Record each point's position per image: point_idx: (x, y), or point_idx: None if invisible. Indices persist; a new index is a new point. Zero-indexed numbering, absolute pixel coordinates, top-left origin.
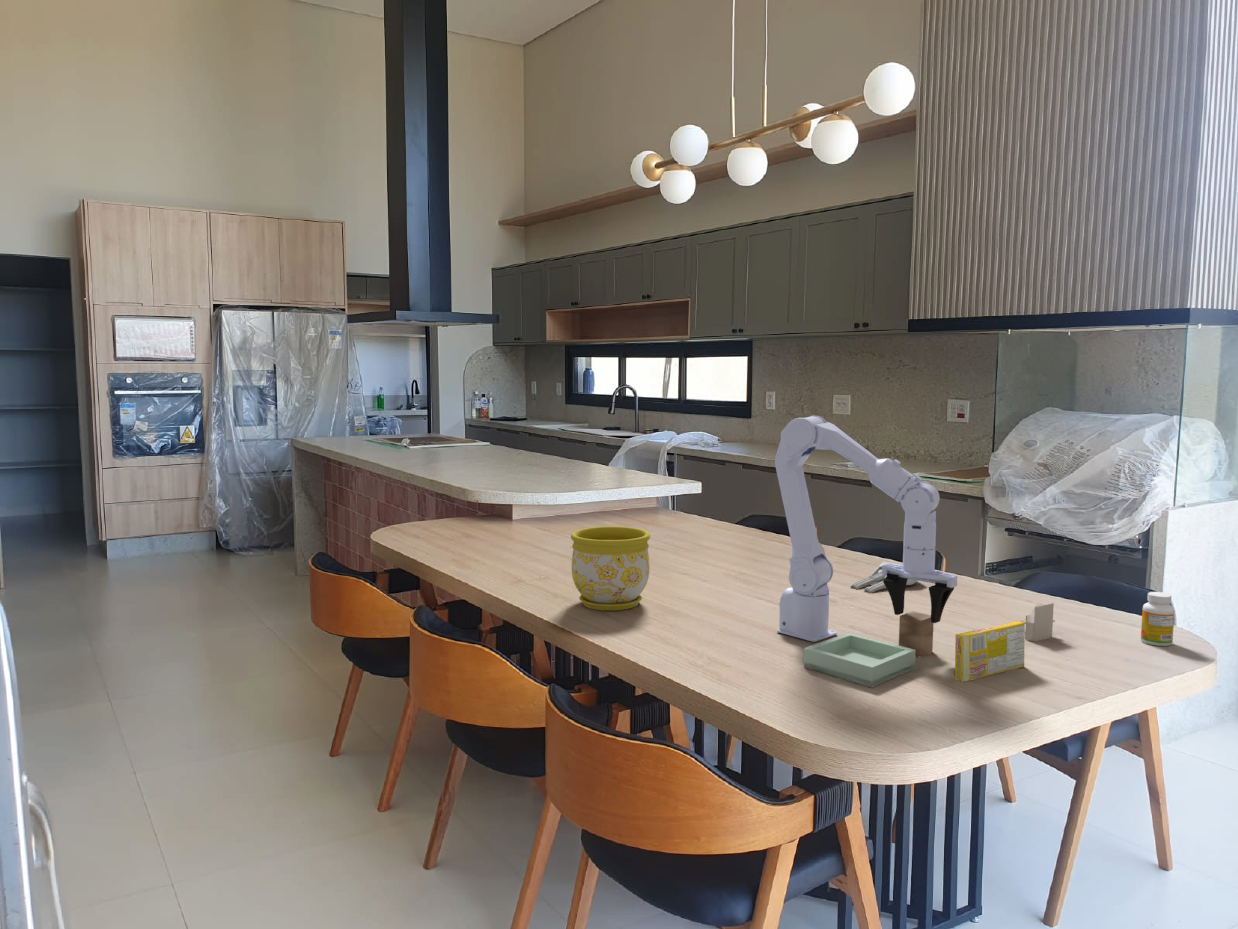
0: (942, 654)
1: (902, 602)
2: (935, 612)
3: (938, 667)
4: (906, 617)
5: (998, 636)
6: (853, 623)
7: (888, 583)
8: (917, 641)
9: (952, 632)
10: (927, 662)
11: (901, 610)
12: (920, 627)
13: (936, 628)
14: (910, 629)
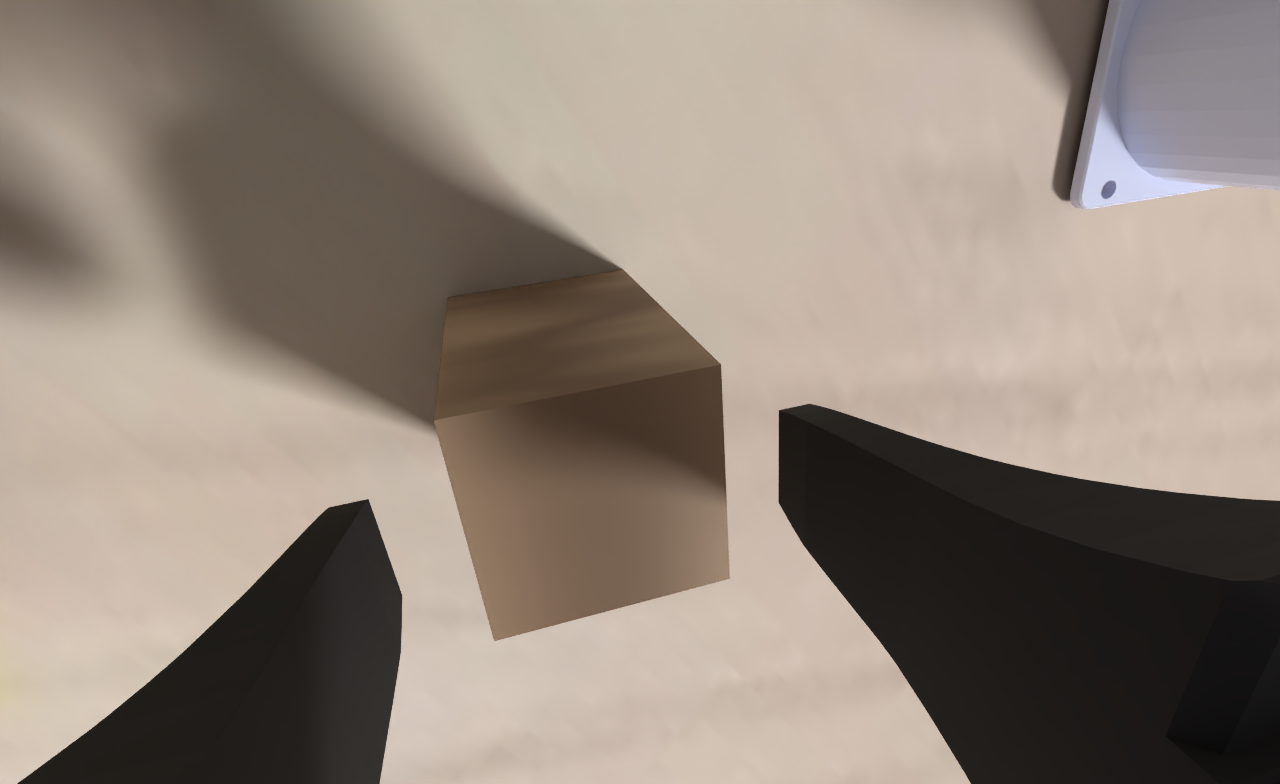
0: (410, 468)
1: (844, 564)
2: (249, 592)
3: (167, 208)
4: (637, 382)
5: None
6: (1065, 454)
7: (1271, 535)
8: (475, 327)
9: (652, 748)
10: (320, 240)
11: (795, 493)
12: (445, 382)
13: (737, 725)
14: (559, 345)
